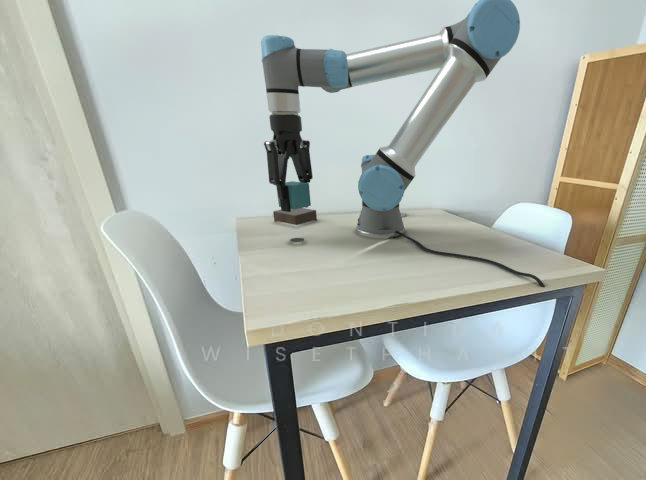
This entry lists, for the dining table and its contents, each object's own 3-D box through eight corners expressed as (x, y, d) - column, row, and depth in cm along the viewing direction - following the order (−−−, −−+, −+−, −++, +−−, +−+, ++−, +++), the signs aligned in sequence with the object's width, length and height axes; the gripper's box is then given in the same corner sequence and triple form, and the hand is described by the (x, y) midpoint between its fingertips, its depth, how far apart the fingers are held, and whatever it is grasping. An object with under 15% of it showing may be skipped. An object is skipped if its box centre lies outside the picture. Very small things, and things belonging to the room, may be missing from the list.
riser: (317, 221, 125) (316, 210, 123) (296, 227, 117) (295, 215, 115) (295, 217, 129) (294, 206, 127) (274, 223, 121) (273, 211, 119)
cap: (307, 242, 103) (307, 239, 102) (297, 246, 100) (297, 242, 99) (297, 240, 104) (296, 236, 104) (287, 243, 101) (286, 240, 101)
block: (311, 205, 98) (309, 183, 96) (295, 209, 94) (292, 185, 91) (294, 203, 101) (292, 181, 98) (278, 206, 96) (275, 183, 94)
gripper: (300, 115, 97) (308, 201, 107) (242, 112, 82) (257, 213, 92) (322, 115, 93) (328, 204, 104) (265, 112, 78) (278, 217, 89)
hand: (295, 208), depth 98 cm, fingers closed on block, 6 cm apart
